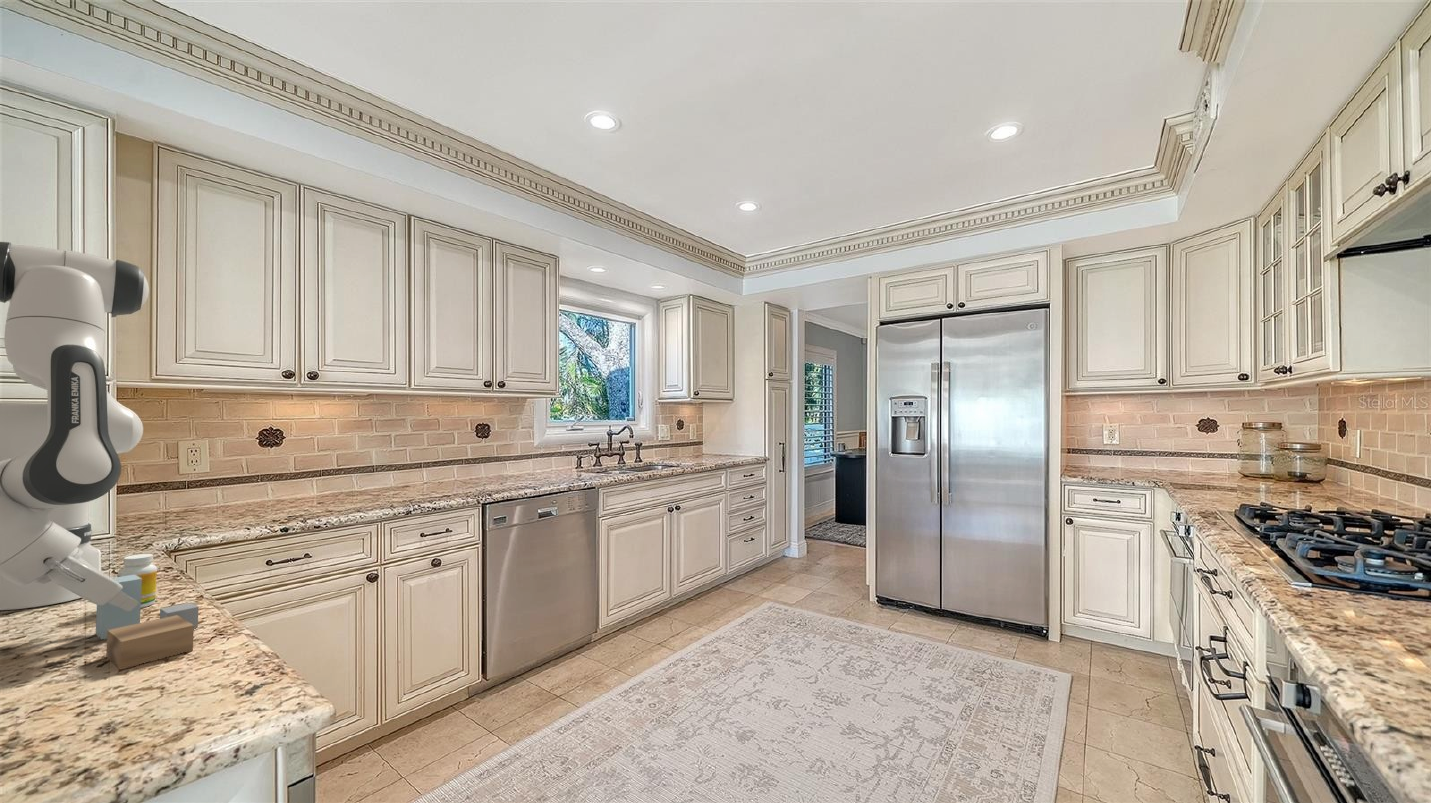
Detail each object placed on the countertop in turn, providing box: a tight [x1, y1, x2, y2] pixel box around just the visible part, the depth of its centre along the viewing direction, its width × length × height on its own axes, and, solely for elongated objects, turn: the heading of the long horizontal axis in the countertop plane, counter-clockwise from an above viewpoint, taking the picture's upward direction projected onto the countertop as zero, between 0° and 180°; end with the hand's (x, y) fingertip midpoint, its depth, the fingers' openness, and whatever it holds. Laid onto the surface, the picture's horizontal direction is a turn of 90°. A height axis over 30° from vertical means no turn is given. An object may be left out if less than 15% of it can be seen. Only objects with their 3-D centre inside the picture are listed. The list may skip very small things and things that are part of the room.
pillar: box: [95, 575, 142, 640], centre depth 96 cm, size 4×4×9 cm
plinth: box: [105, 615, 195, 670], centre depth 87 cm, size 8×8×4 cm
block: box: [159, 602, 199, 629], centre depth 97 cm, size 4×4×4 cm
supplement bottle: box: [117, 553, 158, 609], centre depth 109 cm, size 5×5×10 cm
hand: (125, 601), depth 96 cm, fingers open, 8 cm apart
